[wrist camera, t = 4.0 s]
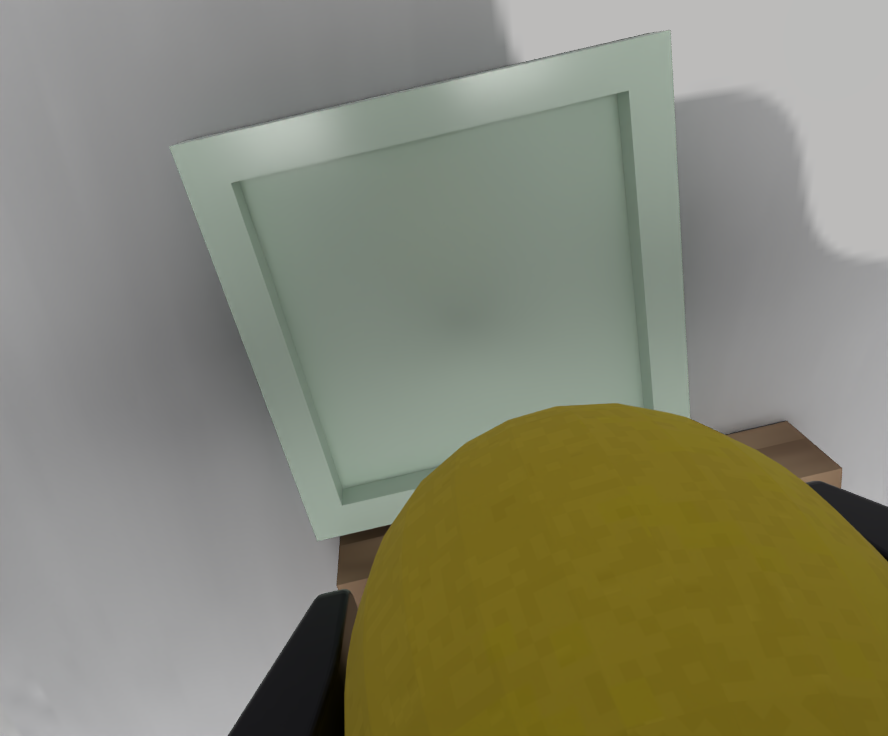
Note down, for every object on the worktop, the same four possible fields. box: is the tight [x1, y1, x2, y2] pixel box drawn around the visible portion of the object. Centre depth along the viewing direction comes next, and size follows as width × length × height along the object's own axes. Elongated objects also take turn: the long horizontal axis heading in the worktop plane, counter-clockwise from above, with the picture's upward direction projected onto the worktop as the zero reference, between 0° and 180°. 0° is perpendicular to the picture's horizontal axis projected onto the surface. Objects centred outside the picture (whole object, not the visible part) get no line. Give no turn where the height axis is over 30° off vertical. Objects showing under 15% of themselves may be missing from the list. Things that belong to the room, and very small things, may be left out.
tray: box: [337, 421, 842, 608], centre depth 21 cm, size 14×12×3 cm
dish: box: [169, 30, 690, 541], centre depth 17 cm, size 11×11×1 cm
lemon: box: [344, 403, 888, 736], centre depth 6 cm, size 6×6×8 cm
